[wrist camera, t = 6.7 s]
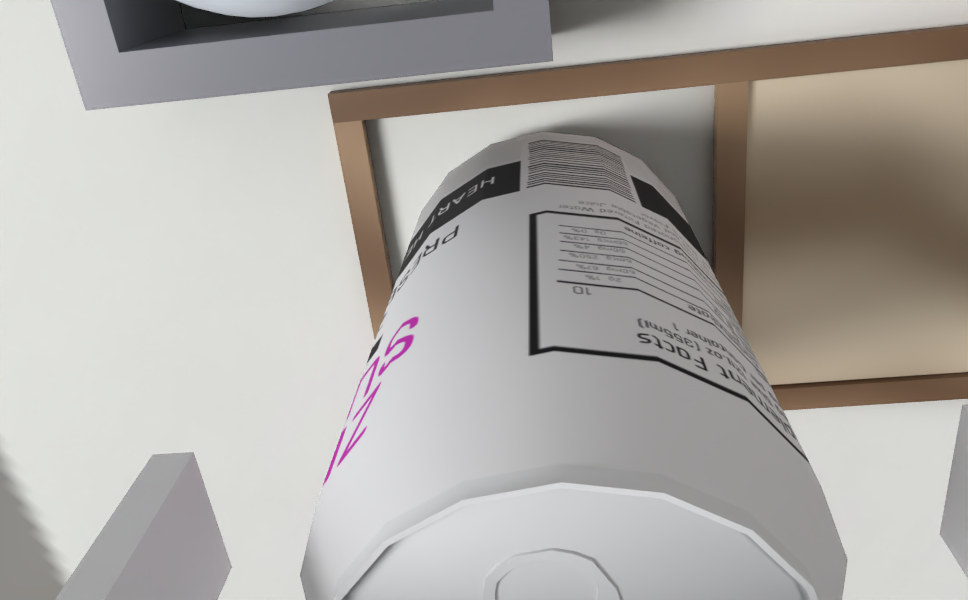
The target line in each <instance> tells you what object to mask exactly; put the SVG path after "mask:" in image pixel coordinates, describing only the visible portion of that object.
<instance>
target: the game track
mask: <svg viewBox="0 0 968 600" xmlns="http://www.w3.org/2000/svg"><path fill="white" fill-rule="evenodd" d="M706 85H715V111H714V218H713V273H714V275H715V277H716V279H717V281H718V283H719V285H720V287H721V289H722V291H723V293H724V295H725V297H726V299H727V301H728V303H729V305H730V307H731V309H732V311H733V313H734V315H735V317H736V319H737V321H738V323H739V325H740V327H741V328H742V330H743V332H744V334H745V336H746V338H747V340H748V342H749V344H750V346H751V348H752V350H753V352H754V354H755V356H756V358H757V360H758V362H759V364H760V366H761V368H762V370H763V372H764V374H765V376H766V378H767V380H768V382H769V384H770V386H771V388H772V390H773V392H774V394H775V396H776V398H777V400H778V402H779V404H780V406H781V408H782V410H797V409H812V408H828V407H843V406H859V405H875V404H890V403H906V402H922V401H937V400H953V399H968V24H967V25H958V26H948V27H938V28H929V29H919V30H910V31H900V32H891V33H881V34H872V35H862V36H853V37H843V38H834V39H824V40H815V41H805V42H796V43H786V44H777V45H767V46H758V47H748V48H739V49H729V50H720V51H710V52H701V53H691V54H682V55H672V56H663V57H653V58H644V59H634V60H625V61H615V62H606V63H596V64H587V65H577V66H568V67H558V68H549V69H539V70H530V71H520V72H511V73H501V74H492V75H482V76H473V77H463V78H454V79H444V80H434V81H425V82H415V83H406V84H396V85H387V86H377V87H368V88H358V89H349V90H339V91H331V92H330V93H329V94H328V99H329V104H330V109H331V114H332V119H333V125H334V130H335V135H336V140H337V145H338V151H339V156H340V161H341V166H342V171H343V177H344V182H345V187H346V192H347V197H348V203H349V208H350V213H351V218H352V224H353V229H354V234H355V239H356V244H357V250H358V255H359V260H360V265H361V270H362V276H363V281H364V286H365V291H366V296H367V302H368V307H369V312H370V317H371V323H372V328H373V333H374V338H375V339H376V336H377V333H378V331H379V328H380V325H381V322H382V320H383V317H384V314H385V311H386V308H387V306H388V303H389V300H390V297H391V295H392V292H393V289H394V285H393V280H392V274H391V268H390V263H389V257H388V251H387V245H386V240H385V234H384V228H383V223H382V217H381V211H380V205H379V200H378V194H377V188H376V183H375V177H374V171H373V166H372V160H371V154H370V148H369V143H368V137H367V131H366V126H365V120H370V119H380V118H390V117H400V116H410V115H420V114H429V113H439V112H449V111H459V110H469V109H479V108H489V107H498V106H508V105H518V104H528V103H538V102H548V101H558V100H568V99H577V98H587V97H597V96H607V95H617V94H627V93H637V92H646V91H656V90H666V89H676V88H686V87H696V86H706Z"/></svg>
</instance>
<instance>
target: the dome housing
mask: <svg viewBox="0 0 968 600" xmlns="http://www.w3.org/2000/svg"><path fill="white" fill-rule="evenodd" d="M51 3H52V6H53V10H54V13H55V16H56V19H57V22H58V25H59V28H60V31H61V35H62V38H63V41H64V44H65V47H66V50H67V53H68V56H69V60H70V63H71V66H72V69H73V72H74V75H75V78H76V81H77V84H78V88H79V91H80V94H81V97H82V100H83V103H84V106H85V109H86V110H96V109H105V108H114V107H124V106H133V105H143V104H152V103H162V102H171V101H180V100H190V99H199V98H209V97H218V96H228V95H237V94H247V93H256V92H265V91H275V90H284V89H294V88H303V87H313V86H322V85H331V84H341V83H350V82H360V81H369V80H379V79H388V78H398V77H407V76H416V75H426V74H435V73H445V72H454V71H464V70H473V69H482V68H492V67H501V66H511V65H520V64H530V63H539V62H549V61H553V52H552V38H551V25H550V11H549V0H437V1H428V2H419V3H411V4H402V5H393V6H385V7H376V8H367V9H358V10H350V11H341V12H332V13H323V14H315V15H306V16H297V17H288V18H280V19H271V20H262V21H253V22H245V23H236V24H227V25H219V26H210V27H201V28H192V29H186V28H185V25H184V21H183V17H182V13H181V9H180V5H179V1H176V0H51Z"/></svg>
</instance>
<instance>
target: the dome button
mask: <svg viewBox="0 0 968 600" xmlns="http://www.w3.org/2000/svg"><path fill="white" fill-rule="evenodd" d="M176 1H179V2H181V3H184V4H187V5H189V6H192V7H195V8H199V9H203V10H207V11H211V12H216V13H220V14H224V15H231V16H241V17H272V16H280V15H286V14H291V13H296V12H302V11H306V10H309V9H312V8H315V7H318V6H321V5H324V4H326V3H329V2H331V1H333V0H176Z"/></svg>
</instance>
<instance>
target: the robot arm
mask: <svg viewBox="0 0 968 600" xmlns="http://www.w3.org/2000/svg"><path fill="white" fill-rule="evenodd" d="M940 535H941V537H942V538H943V540H944V542H945V543H946V545H947V546H948V548H949V549H950V551H951V553H952V554H953V556H954V557H955V559H956V560H957V562H958V564H959V565H960V567H961V568H962V570H963V571H964V573H965V575H966V576H967V578H968V405H962V410H961V415H960V421H959V427H958V432H957V438H956V444H955V449H954V455H953V461H952V467H951V472H950V478H949V484H948V489H947V495H946V501H945V506H944V512H943V518H942V524H941V529H940ZM231 568H232V567H231V564H230V561H229V558H228V555H227V552H226V548H225V545H224V542H223V539H222V536H221V533H220V530H219V527H218V524H217V521H216V518H215V515H214V512H213V509H212V506H211V503H210V500H209V497H208V494H207V491H206V488H205V485H204V482H203V479H202V476H201V473H200V470H199V467H198V464H197V461H196V458H195V455H194V452H190V453H173V454H157V455H152V457H151V458H150V460H149V461H148V463H147V464H146V466H145V467H144V468H143V470H142V471H141V473H140V474H139V476H138V477H137V479H136V480H135V482H134V483H133V485H132V486H131V488H130V489H129V491H128V492H127V494H126V495H125V497H124V498H123V500H122V501H121V503H120V504H119V506H118V507H117V509H116V510H115V512H114V513H113V514H112V516H111V517H110V519H109V520H108V522H107V523H106V525H105V526H104V528H103V529H102V531H101V532H100V534H99V535H98V537H97V538H96V540H95V541H94V543H93V544H92V546H91V547H90V549H89V550H88V552H87V553H86V555H85V556H84V558H83V559H82V560H81V562H80V563H79V565H78V566H77V568H76V569H75V571H74V572H73V574H72V575H71V577H70V578H69V580H68V581H67V583H66V584H65V586H64V587H63V589H62V590H61V592H60V593H59V595H58V596H57V598H56V599H55V600H217V599H218V597H219V595H220V592H221V590H222V588H223V586H224V583H225V581H226V579H227V577H228V574H229V572H230V570H231Z"/></svg>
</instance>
